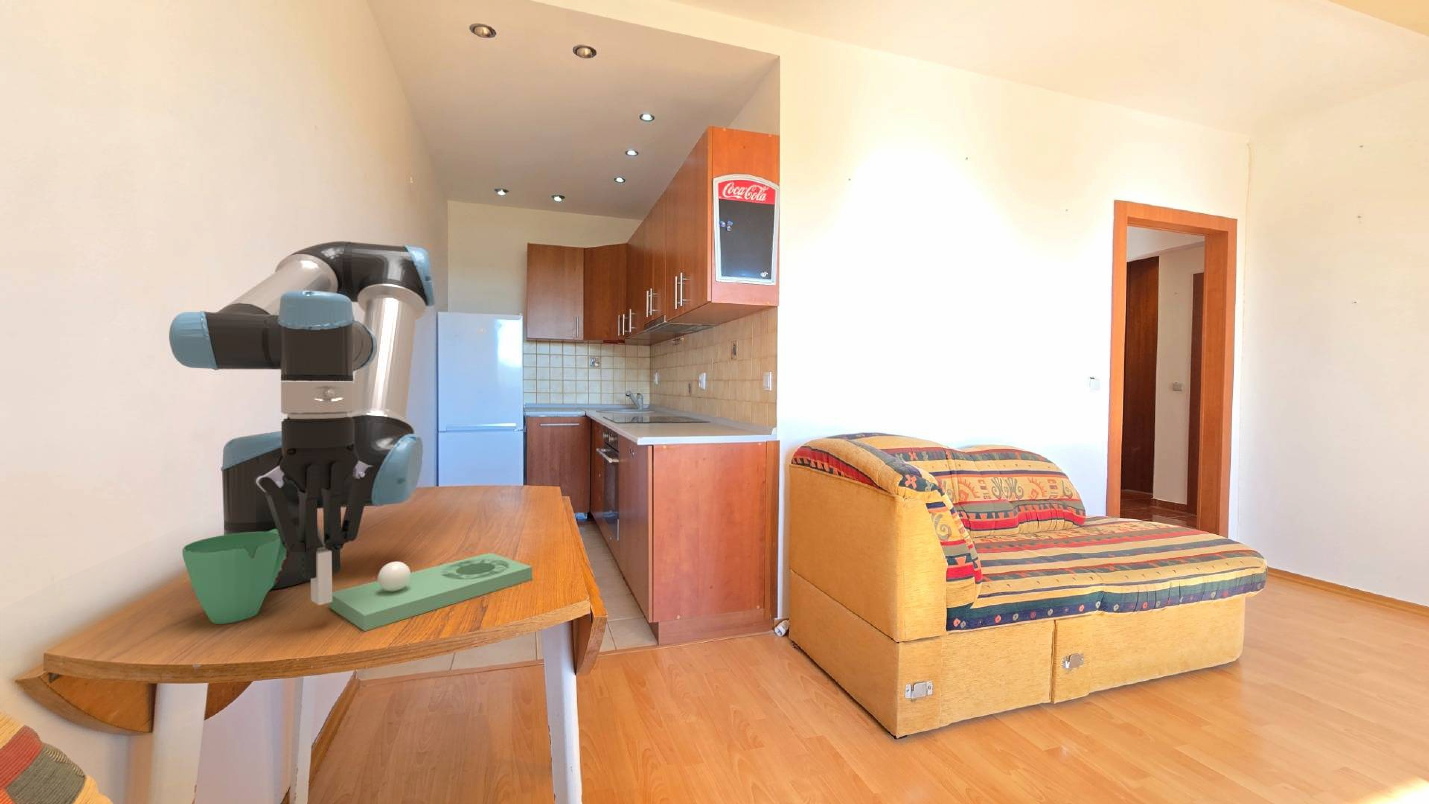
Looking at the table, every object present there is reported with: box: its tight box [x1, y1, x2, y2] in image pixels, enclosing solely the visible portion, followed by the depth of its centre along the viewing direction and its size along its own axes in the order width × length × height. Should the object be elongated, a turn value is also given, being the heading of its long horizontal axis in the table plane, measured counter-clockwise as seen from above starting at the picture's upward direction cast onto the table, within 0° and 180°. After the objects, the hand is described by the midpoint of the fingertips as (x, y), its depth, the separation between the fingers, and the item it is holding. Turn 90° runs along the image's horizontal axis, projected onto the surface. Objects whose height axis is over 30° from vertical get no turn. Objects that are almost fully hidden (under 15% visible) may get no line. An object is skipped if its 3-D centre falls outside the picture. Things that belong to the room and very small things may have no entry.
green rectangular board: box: [328, 552, 533, 632], centre depth 83 cm, size 24×12×2 cm, turn 142°
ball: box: [377, 561, 411, 592], centre depth 78 cm, size 4×4×4 cm
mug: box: [182, 529, 289, 625], centre depth 77 cm, size 15×10×10 cm
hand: (321, 600), depth 72 cm, fingers closed
